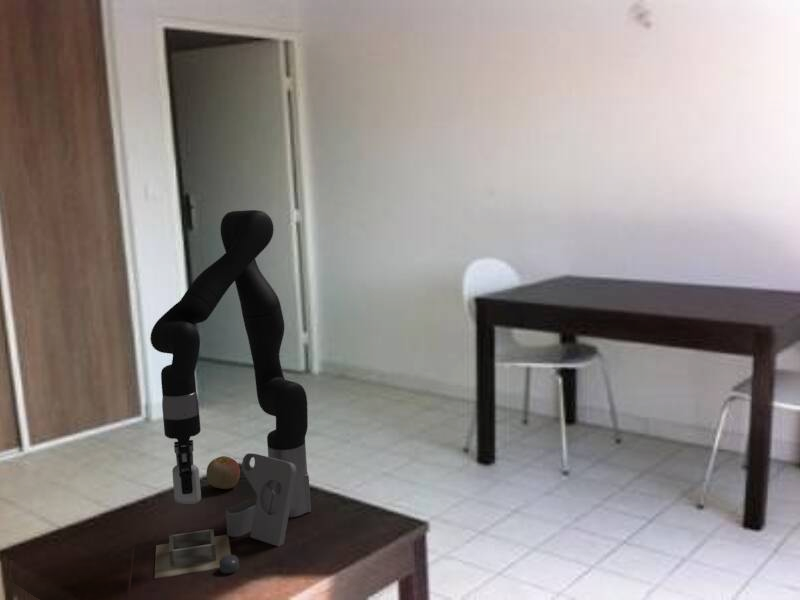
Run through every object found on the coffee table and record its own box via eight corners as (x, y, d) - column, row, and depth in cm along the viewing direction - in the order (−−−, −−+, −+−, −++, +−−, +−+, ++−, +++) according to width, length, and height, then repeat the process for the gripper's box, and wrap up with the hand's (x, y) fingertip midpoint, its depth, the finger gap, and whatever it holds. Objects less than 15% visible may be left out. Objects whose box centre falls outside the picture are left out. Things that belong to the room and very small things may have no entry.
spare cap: (238, 560, 179) (238, 553, 178) (240, 574, 175) (239, 567, 174) (219, 563, 178) (218, 556, 177) (220, 577, 174) (220, 570, 173)
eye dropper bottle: (186, 507, 178) (181, 453, 176) (172, 500, 181) (167, 448, 180) (203, 501, 181) (199, 448, 179) (190, 495, 184) (185, 442, 183)
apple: (225, 479, 231) (222, 451, 229) (248, 485, 225) (245, 457, 224) (201, 490, 224) (198, 461, 222) (223, 496, 218) (221, 467, 217)
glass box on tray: (228, 538, 193) (226, 520, 192) (232, 569, 177) (231, 549, 177) (156, 549, 189) (154, 530, 188) (154, 582, 173) (153, 561, 173)
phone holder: (222, 536, 194) (216, 462, 191) (254, 521, 202) (248, 450, 199) (274, 554, 184) (268, 477, 181) (306, 537, 191) (301, 462, 189)
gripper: (200, 420, 172) (206, 498, 175) (198, 402, 186) (204, 475, 188) (162, 424, 170) (169, 503, 173) (163, 406, 184) (169, 480, 187)
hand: (187, 488), depth 181 cm, fingers closed on eye dropper bottle, 4 cm apart
